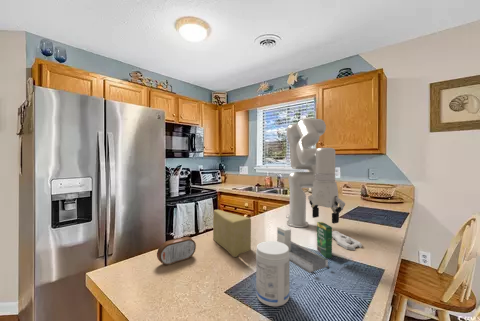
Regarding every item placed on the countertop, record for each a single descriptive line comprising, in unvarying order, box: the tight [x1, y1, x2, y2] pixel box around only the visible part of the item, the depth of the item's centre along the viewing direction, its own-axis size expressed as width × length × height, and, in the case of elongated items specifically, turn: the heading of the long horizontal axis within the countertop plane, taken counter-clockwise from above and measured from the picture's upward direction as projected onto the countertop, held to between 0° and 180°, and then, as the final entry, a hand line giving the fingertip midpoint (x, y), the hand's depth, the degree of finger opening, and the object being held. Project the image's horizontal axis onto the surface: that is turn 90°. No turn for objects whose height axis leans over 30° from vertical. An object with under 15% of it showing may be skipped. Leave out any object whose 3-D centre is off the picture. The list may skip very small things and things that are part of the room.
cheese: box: [212, 209, 252, 258], centre depth 98 cm, size 22×10×15 cm, turn 39°
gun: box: [332, 230, 363, 251], centre depth 105 cm, size 18×4×10 cm
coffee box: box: [316, 221, 333, 259], centre depth 90 cm, size 8×3×13 cm, turn 6°
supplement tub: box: [255, 240, 290, 307], centre depth 63 cm, size 10×10×15 cm
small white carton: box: [276, 225, 292, 251], centre depth 94 cm, size 5×3×9 cm, turn 29°
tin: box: [156, 236, 197, 266], centre depth 85 cm, size 15×3×8 cm, turn 129°
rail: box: [289, 240, 330, 277], centre depth 87 cm, size 10×22×4 cm, turn 29°
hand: (325, 219), depth 89 cm, fingers open, 9 cm apart
